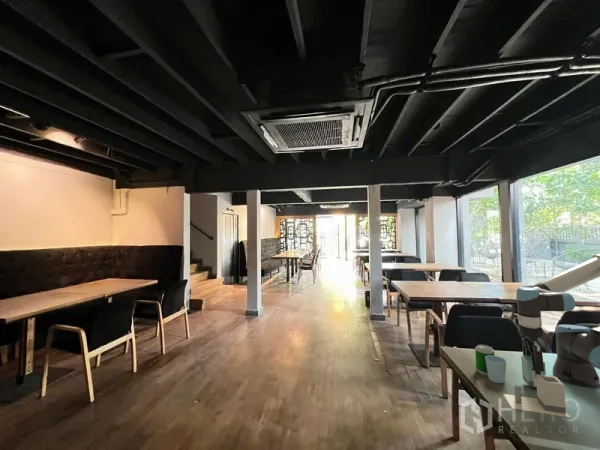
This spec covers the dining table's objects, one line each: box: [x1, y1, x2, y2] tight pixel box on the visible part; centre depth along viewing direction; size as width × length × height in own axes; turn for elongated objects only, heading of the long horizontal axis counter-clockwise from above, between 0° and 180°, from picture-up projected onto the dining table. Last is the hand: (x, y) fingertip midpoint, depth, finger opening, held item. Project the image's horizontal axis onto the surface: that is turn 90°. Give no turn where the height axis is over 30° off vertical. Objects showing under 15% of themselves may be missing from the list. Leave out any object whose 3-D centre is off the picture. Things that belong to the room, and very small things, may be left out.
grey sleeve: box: [536, 374, 567, 414], centre depth 105 cm, size 6×6×10 cm
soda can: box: [474, 344, 496, 377], centre depth 134 cm, size 8×8×12 cm
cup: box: [485, 355, 507, 384], centre depth 125 cm, size 8×8×10 cm
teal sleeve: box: [520, 354, 547, 388], centre depth 118 cm, size 6×6×10 cm
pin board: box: [503, 384, 571, 418], centre depth 106 cm, size 17×10×8 cm, turn 70°
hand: (534, 382), depth 118 cm, fingers closed on teal sleeve, 6 cm apart
